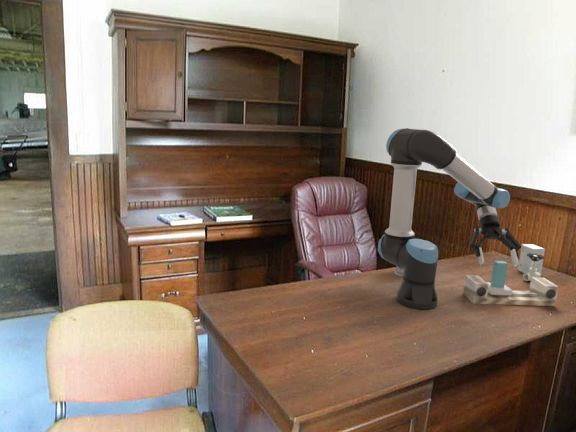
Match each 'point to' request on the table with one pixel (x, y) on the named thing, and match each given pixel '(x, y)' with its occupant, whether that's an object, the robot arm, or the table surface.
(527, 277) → the valve
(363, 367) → the table surface
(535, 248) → the small box
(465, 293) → the rail board
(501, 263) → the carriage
